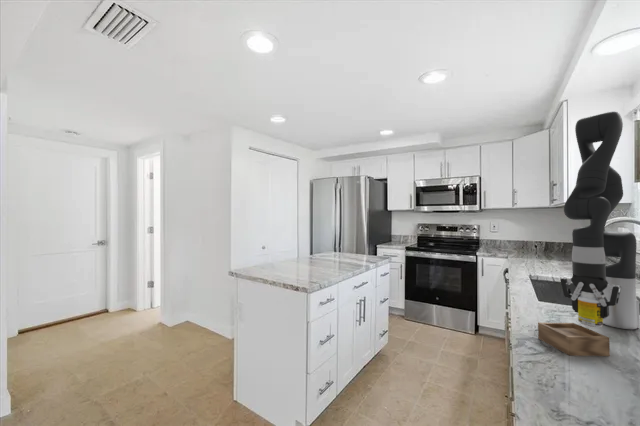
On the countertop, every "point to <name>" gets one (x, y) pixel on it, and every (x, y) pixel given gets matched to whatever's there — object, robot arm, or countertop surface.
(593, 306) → the supplement bottle
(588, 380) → the countertop surface
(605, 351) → the walnut tray
